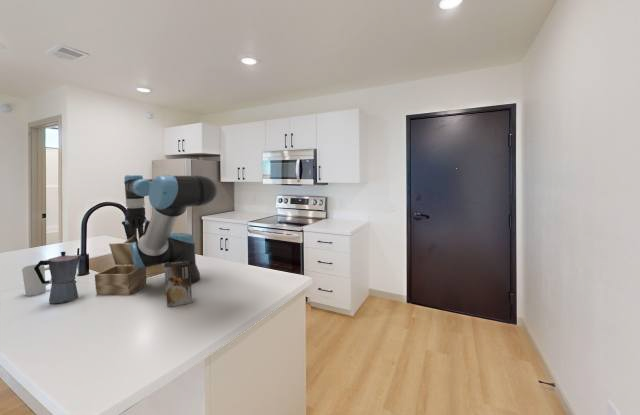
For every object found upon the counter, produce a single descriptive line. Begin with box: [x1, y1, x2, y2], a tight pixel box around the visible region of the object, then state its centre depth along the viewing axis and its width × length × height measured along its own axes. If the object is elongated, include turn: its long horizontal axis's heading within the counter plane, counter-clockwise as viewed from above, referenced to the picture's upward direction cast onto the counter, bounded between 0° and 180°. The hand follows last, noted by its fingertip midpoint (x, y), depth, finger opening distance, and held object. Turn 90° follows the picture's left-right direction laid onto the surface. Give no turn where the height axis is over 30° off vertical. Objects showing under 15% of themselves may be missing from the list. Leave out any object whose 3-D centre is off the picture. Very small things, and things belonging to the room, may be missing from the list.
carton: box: [94, 265, 148, 296], centre depth 126 cm, size 15×12×9 cm
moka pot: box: [34, 251, 83, 304], centre depth 115 cm, size 10×15×20 cm, turn 161°
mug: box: [21, 263, 52, 297], centre depth 123 cm, size 10×7×12 cm, turn 139°
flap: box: [108, 235, 139, 266], centre depth 133 cm, size 12×11×9 cm
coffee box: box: [163, 261, 193, 308], centre depth 113 cm, size 9×6×16 cm
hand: (139, 254), depth 138 cm, fingers closed on flap
